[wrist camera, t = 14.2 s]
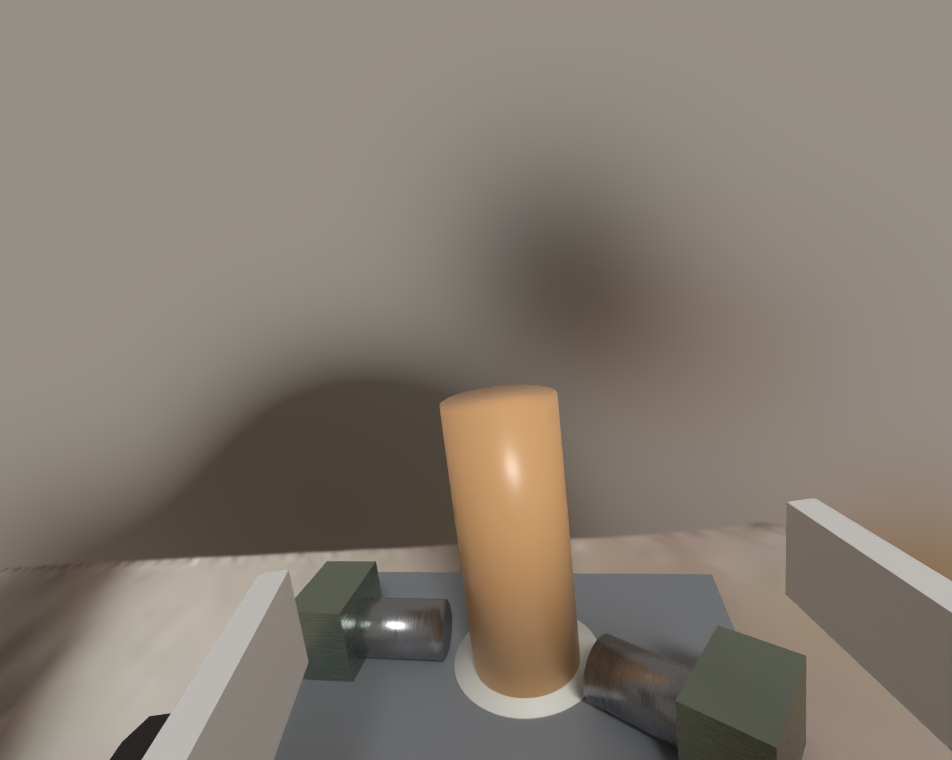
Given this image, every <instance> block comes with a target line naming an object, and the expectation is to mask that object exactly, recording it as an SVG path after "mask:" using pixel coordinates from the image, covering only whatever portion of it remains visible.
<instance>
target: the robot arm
mask: <svg viewBox="0 0 952 760" xmlns="http://www.w3.org/2000/svg"><path fill="white" fill-rule="evenodd" d="M786 595H787V596H788V597H789V598H790V599H791V600H792V601H793V602H794V603H795V604H797V605H798V606H799V607H800V608H801V609H802V610H803V611H804V612H805V613H806V614H807V615H808V616H809V617H810V618H811V619H812V620H813V621H815V622H816V623H817V624H818V625H819V626H820V627H821V628H822V629H823V630H824V631H825V632H826V633H827V634H828V635H829V636H830V637H831V638H833V639H834V640H835V641H836V642H837V643H838V644H839V645H840V646H841V647H842V648H843V649H844V650H845V651H846V652H847V653H848V654H849V655H851V656H852V657H853V658H854V659H855V660H856V661H857V662H858V663H859V664H860V665H861V666H862V667H863V668H864V669H865V670H866V671H867V672H869V673H870V674H871V675H872V676H873V677H874V678H875V679H876V680H877V681H878V682H879V683H880V684H881V685H882V686H883V687H884V688H885V689H887V690H888V691H889V692H890V693H891V694H892V695H893V696H894V697H895V698H896V699H897V700H898V701H899V702H900V703H901V704H902V705H903V706H904V707H906V708H907V709H908V710H909V711H910V712H911V713H912V714H913V715H914V716H915V717H916V718H917V719H918V720H919V721H920V722H921V723H922V724H924V725H925V726H926V727H927V728H928V729H929V730H930V731H931V732H932V733H933V734H934V735H935V736H936V737H937V738H938V739H939V740H940V741H942V742H943V743H944V744H945V745H946V746H947V747H948V748H949V749H950V750H951V751H952V581H950V580H949V579H947V578H945V577H944V576H942V575H940V574H939V573H937V572H935V571H934V570H932V569H930V568H929V567H927V566H925V565H924V564H922V563H921V562H919V561H917V560H916V559H914V558H912V557H911V556H909V555H907V554H906V553H904V552H902V551H901V550H899V549H898V548H896V547H894V546H893V545H891V544H889V543H888V542H886V541H884V540H883V539H881V538H879V537H878V536H876V535H875V534H873V533H871V532H870V531H868V530H866V529H865V528H863V527H861V526H860V525H858V524H856V523H855V522H853V521H852V520H850V519H848V518H846V517H845V516H843V515H842V514H840V513H838V512H837V511H835V510H833V509H832V508H830V507H829V506H827V505H825V504H824V503H822V502H820V501H819V500H817V499H815V498H812V499H805V500H798V501H790V502H787V519H786ZM307 665H308V657H307V652H306V648H305V643H304V639H303V634H302V629H301V625H300V620H299V616H298V611H297V606H296V602H295V597H294V592H293V588H292V583H291V579H290V574H289V570H285V571H278V572H270V573H263V574H258V576H257V577H256V579H255V581H254V582H253V584H252V585H251V587H250V589H249V590H248V592H247V593H246V595H245V597H244V598H243V600H242V601H241V603H240V604H239V606H238V608H237V609H236V611H235V612H234V614H233V616H232V617H231V619H230V620H229V622H228V623H227V625H226V627H225V628H224V630H223V631H222V633H221V635H220V636H219V638H218V639H217V641H216V643H215V644H214V646H213V647H212V649H211V650H210V652H209V654H208V655H207V657H206V658H205V660H204V662H203V663H202V665H201V666H200V668H199V670H198V671H197V673H196V674H195V676H194V677H193V679H192V681H191V682H190V684H189V685H188V687H187V689H186V690H185V692H184V693H183V695H182V696H181V698H180V700H179V701H178V703H177V704H176V706H175V708H174V709H173V711H172V712H171V713H170V714H163V715H156V716H149V717H148V718H147V719H146V720H145V721H144V722H143V723H142V724H141V725H140V726H139V727H138V728H137V729H135V730H134V731H133V732H132V733H131V734H130V735H129V736H128V737H127V738H126V739H125V740H124V741H123V742H122V743H121V744H120V746H119V747H118V749H117V750H116V751H115V753H114V754H113V756H112V757H111V759H110V760H274V757H275V754H276V751H277V749H278V746H279V743H280V740H281V737H282V735H283V732H284V729H285V726H286V724H287V721H288V718H289V715H290V712H291V710H292V707H293V704H294V701H295V698H296V696H297V693H298V690H299V687H300V684H301V682H302V679H303V676H304V673H305V670H306V668H307Z"/></svg>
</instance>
